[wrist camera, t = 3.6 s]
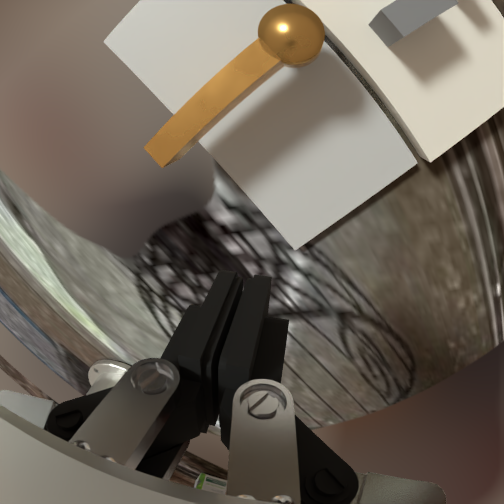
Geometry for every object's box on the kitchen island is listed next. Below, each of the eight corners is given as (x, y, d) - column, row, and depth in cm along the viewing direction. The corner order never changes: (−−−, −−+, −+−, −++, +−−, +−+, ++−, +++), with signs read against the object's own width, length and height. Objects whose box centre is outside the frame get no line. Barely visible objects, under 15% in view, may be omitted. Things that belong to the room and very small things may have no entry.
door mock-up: (522, 78, 16) (568, 81, 11) (295, 245, 27) (291, 287, 21) (335, -123, 11) (338, -162, 5) (109, 42, 21) (61, 35, 15)
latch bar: (295, 6, 16) (293, -8, 13) (334, 46, 17) (338, 37, 14) (155, 132, 21) (134, 137, 18) (188, 168, 22) (171, 178, 19)
